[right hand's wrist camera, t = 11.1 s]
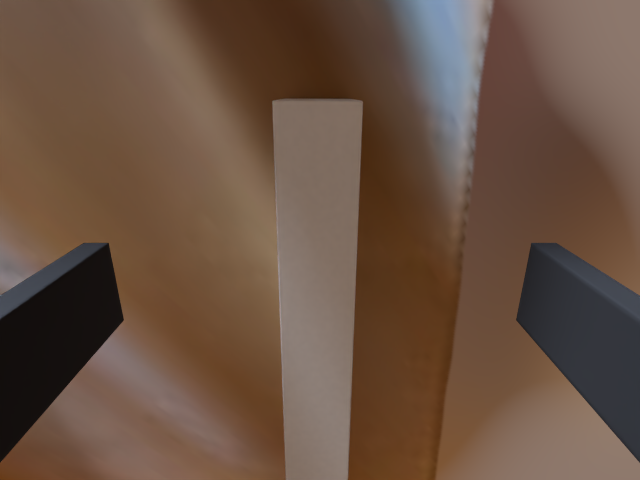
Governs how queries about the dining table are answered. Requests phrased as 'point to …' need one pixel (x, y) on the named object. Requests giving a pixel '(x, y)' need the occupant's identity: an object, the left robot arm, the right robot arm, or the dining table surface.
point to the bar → (317, 277)
